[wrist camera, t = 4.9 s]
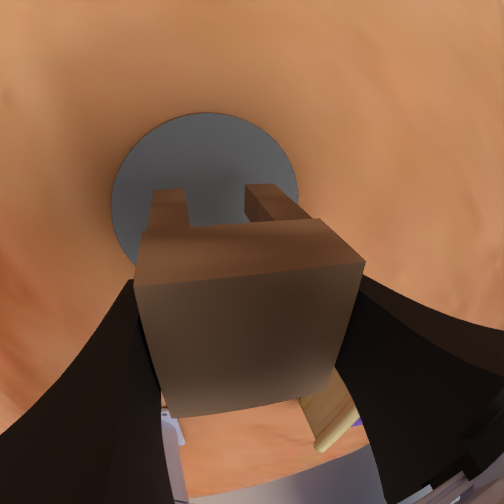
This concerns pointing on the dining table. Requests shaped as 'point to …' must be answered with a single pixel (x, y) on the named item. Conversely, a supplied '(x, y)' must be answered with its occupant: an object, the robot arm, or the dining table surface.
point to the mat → (197, 173)
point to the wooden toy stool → (242, 302)
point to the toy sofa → (330, 412)
